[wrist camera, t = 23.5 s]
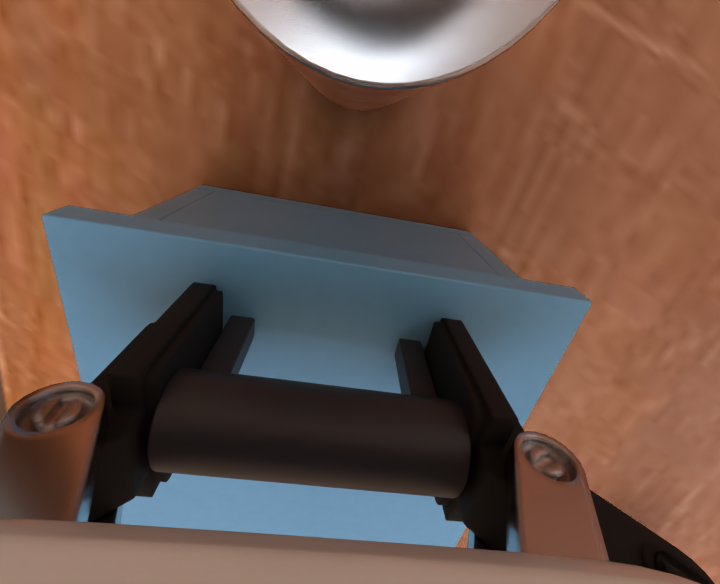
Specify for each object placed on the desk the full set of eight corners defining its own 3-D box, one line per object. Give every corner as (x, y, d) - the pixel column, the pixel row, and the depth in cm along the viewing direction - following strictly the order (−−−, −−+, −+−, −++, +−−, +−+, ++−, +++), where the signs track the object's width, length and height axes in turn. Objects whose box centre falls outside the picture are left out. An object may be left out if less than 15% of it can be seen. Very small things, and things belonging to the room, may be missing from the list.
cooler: (201, 184, 19) (89, 233, 11) (469, 231, 20) (551, 305, 12) (204, 418, 26) (139, 554, 18) (401, 439, 27) (424, 572, 19)
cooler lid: (68, 204, 10) (-226, 304, 5) (574, 286, 11) (748, 426, 6) (138, 555, 18) (59, 724, 13) (424, 573, 19) (450, 730, 14)
